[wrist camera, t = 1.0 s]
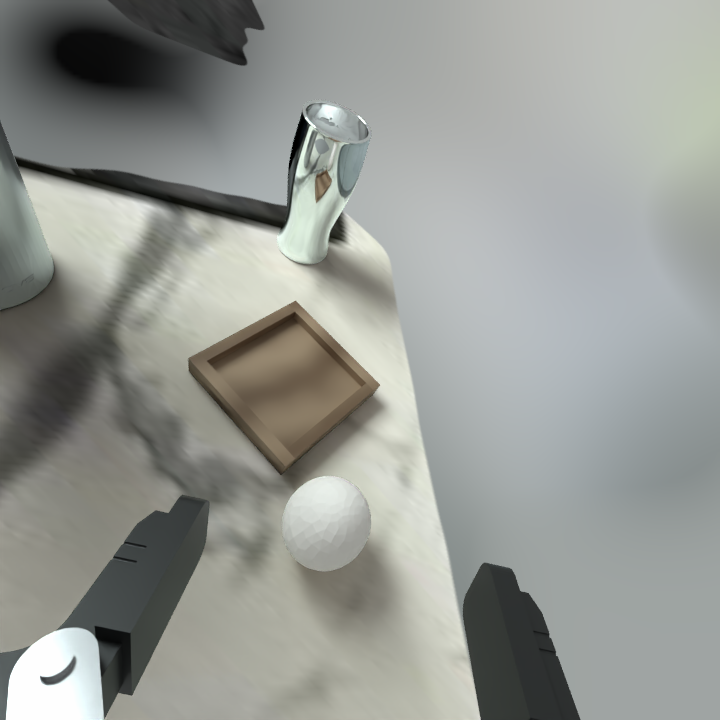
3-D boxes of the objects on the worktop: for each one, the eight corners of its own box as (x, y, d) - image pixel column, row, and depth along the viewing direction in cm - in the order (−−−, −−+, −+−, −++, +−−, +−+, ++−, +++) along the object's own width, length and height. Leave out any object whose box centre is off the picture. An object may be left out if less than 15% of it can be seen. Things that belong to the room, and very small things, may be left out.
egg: (263, 507, 30) (281, 477, 24) (334, 481, 33) (365, 448, 27) (290, 592, 28) (316, 581, 22) (363, 555, 31) (404, 537, 25)
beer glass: (298, 219, 50) (331, 93, 38) (341, 252, 49) (387, 134, 37) (260, 240, 46) (283, 105, 34) (305, 276, 45) (345, 151, 33)
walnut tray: (188, 370, 34) (188, 358, 32) (291, 313, 41) (295, 300, 40) (280, 474, 32) (285, 466, 30) (372, 394, 39) (380, 384, 38)
